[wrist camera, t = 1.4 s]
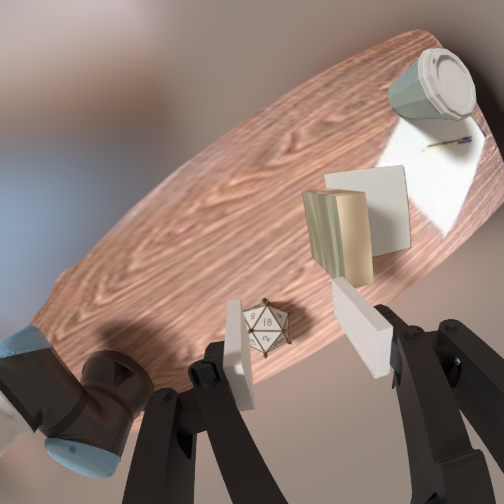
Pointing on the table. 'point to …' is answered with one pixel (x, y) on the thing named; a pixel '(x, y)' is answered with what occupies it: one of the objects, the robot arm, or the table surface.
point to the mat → (380, 204)
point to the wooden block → (340, 233)
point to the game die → (267, 326)
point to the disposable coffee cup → (434, 88)
